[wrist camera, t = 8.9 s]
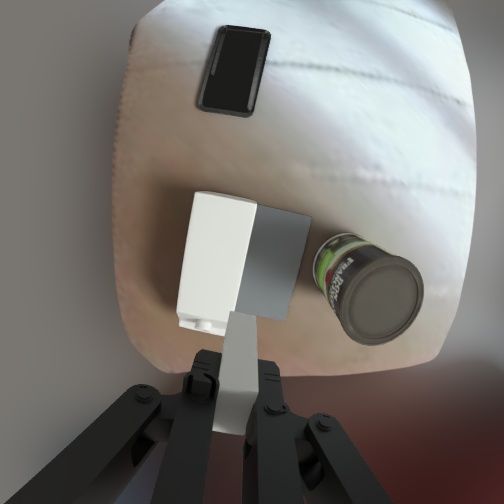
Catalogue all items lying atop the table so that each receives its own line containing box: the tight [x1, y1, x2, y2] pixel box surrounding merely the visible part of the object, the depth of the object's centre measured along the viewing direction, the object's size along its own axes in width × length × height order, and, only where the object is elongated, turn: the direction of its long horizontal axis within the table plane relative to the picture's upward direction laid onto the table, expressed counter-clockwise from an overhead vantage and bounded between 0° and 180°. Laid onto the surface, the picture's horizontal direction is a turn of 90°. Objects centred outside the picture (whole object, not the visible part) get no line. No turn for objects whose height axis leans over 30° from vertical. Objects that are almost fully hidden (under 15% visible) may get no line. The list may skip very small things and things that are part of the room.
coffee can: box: [313, 233, 424, 346], centre depth 34 cm, size 10×10×14 cm
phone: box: [198, 25, 271, 118], centre depth 34 cm, size 8×1×15 cm
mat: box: [234, 204, 312, 321], centre depth 40 cm, size 16×16×1 cm
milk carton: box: [176, 191, 257, 336], centre depth 36 cm, size 7×7×19 cm
